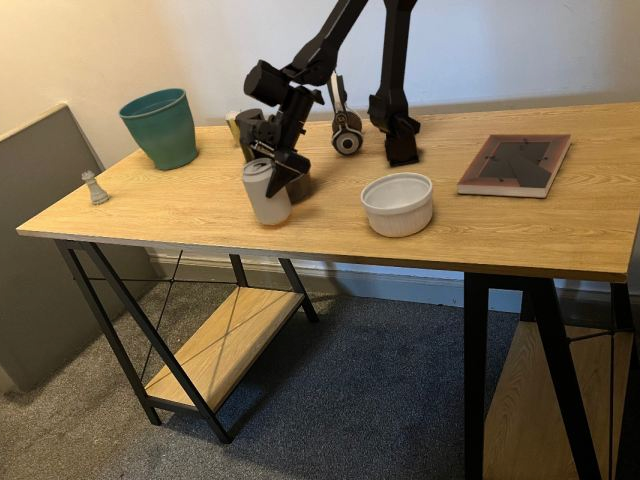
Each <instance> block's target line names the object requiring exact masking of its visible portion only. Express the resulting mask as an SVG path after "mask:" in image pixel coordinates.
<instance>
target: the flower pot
mask: <svg viewBox="0 0 640 480" xmlns="http://www.w3.org/2000/svg"><path fill="white" fill-rule="evenodd" d="M117 114H118V117H119V118H120V119H121V120H122V122H123V123H124V125H125V127H126V128H127V130H128V132H129V133H130V136H131V137H132V139H133V140H134V141H135V143H136V144H137V146H138V147H139V148H140V150H142V151H143V152H144V153H145V154H146V155H147V156H148V158H149V159H150V160H151V161H152V163H154V165H155V167H156V168H157V169H159V170H163V171H167V170H173V169H178V168H180V167H183V166H185V165H187V164H189V163H190V162H192V161H193V160H195V158H197V156H198V154H199V150H198V149H197V148H198V147H197V141H196V140H197V139H196V125H195V121H194V117H193V113H192V110H191V107H190V104H189V100H188V96H187V92H186V90H185V89H184V88H181V87H172V88H165V89H159V90H156V91H153V92H149V93H147V94H144V95H142V96H139V97H137V98H135V99H133V100H130V101H129V102H128V103H126V104H125V105H123V106H122V107H121V108H120V109H119V110H118V112H117Z"/></svg>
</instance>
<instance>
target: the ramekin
mask: <svg viewBox="0 0 640 480" xmlns="http://www.w3.org/2000/svg"><path fill="white" fill-rule="evenodd" d="M433 194H434V186H433V182H432V180H431V178H430V177H428V176H427V175H424V174H421V173H419V172H411V171H409V172H403V171H402V172H396V173H391V174H388V175H384V176H381V177H378V178H376V179H374V180H372V181H371V182H369V183H368V184H367V185H366V186H365V187H364V188H363V189H362V191H361V193H360V202H361V206H362V208H363V209H364V211H365V215H366V216H367V219H368V221H369V222H368V223H369V225H370V227H371V228H372V230H374V231H375V232H376V233H378V234H380V235H381V236H384V237H389V238H402V237H409V236H411V235H414V234H416V233H418V232H420V231H422V230H423V229H425V228H426V226H427V225H429V222H430V221H431V220H432V217H433V202H434V201H433Z"/></svg>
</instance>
